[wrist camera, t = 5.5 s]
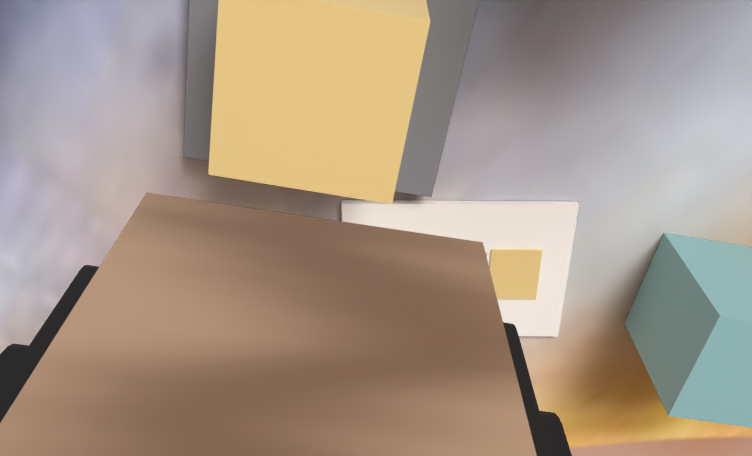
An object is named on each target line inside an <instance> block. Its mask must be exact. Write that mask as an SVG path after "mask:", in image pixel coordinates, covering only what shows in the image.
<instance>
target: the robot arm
mask: <svg viewBox="0 0 752 456" xmlns="http://www.w3.org/2000/svg"><path fill="white" fill-rule="evenodd" d="M98 268H99V267H97V266H90V265H85V266H83V267H82V268H81V270H80V271H79V273H78V274H77V275H76V277H75V278H74V280H73V281H72V283H71V284H70V286H69V287H68V289H67V290H66V292H65V293H64V295H63V296H62V298H61V299H60V301H59V302H58V304H57V305H56V307H55V308H54V310H53V311H52V313H51V314H50V316H49V317H48V319H47V320H46V322H45V323H44V325H43V326H42V327H41V329H40V330H39V332H38V333H37V335H36V336H35V338H34V339H33V341H32V342H31V344H30V345H29V346H27V345H19V344H12V345H10V346H8V347H7V348H6V349H5V350H4V351H3V352H2V353H1V354H0V423H1V421H2V420H3V418H4V416H5V415H6V413H7V412H8V410H9V409H10V407H11V405H12V404H13V402H14V401H15V399H16V398H17V396H18V394H19V393H20V391H21V390H22V388H23V386H24V385H25V383H26V382H27V380H28V379H29V377H30V375H31V374H32V372H33V371H34V369H35V368H36V366H37V364H38V363H39V361H40V360H41V358H42V357H43V355H44V353H45V352H46V350H47V349H48V347H49V346H50V344H51V342H52V341H53V339H54V338H55V336H56V334H57V333H58V331H59V330H60V328H61V327H62V325H63V323H64V322H65V320H66V319H67V317H68V316H69V314H70V312H71V311H72V309H73V308H74V306H75V305H76V303H77V301H78V300H79V298H80V297H81V295H82V294H83V292H84V290H85V289H86V287H87V286H88V284H89V282H90V281H91V279H92V278H93V276H94V275H95V273H96V271H97V270H98ZM503 324H504V328H505V332H506V336H507V340H508V344H509V348H510V352H511V356H512V360H513V364H514V368H515V372H516V376H517V380H518V383H519V387H520V391H521V395H522V399H523V403H524V407H525V411H526V415H527V419H528V423H529V427H530V431H531V435H532V439H533V443H534V447H535V451H536V455H537V456H572V455H571V452H570V449H569V445H568V442H567V439H566V436H565V432H564V429H563V426H562V423H561V421H560V419H559V417H558V416H557V415H556V414H555V413H551V412H543V411H539V409H538V405H537V401H536V398H535V394H534V390H533V387H532V383H531V380H530V376H529V372H528V369H527V365H526V361H525V358H524V354H523V351H522V347H521V343H520V340H519V336H518V332H517V329H516V327H515V325H514V324H511V323H504V322H503Z"/></svg>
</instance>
